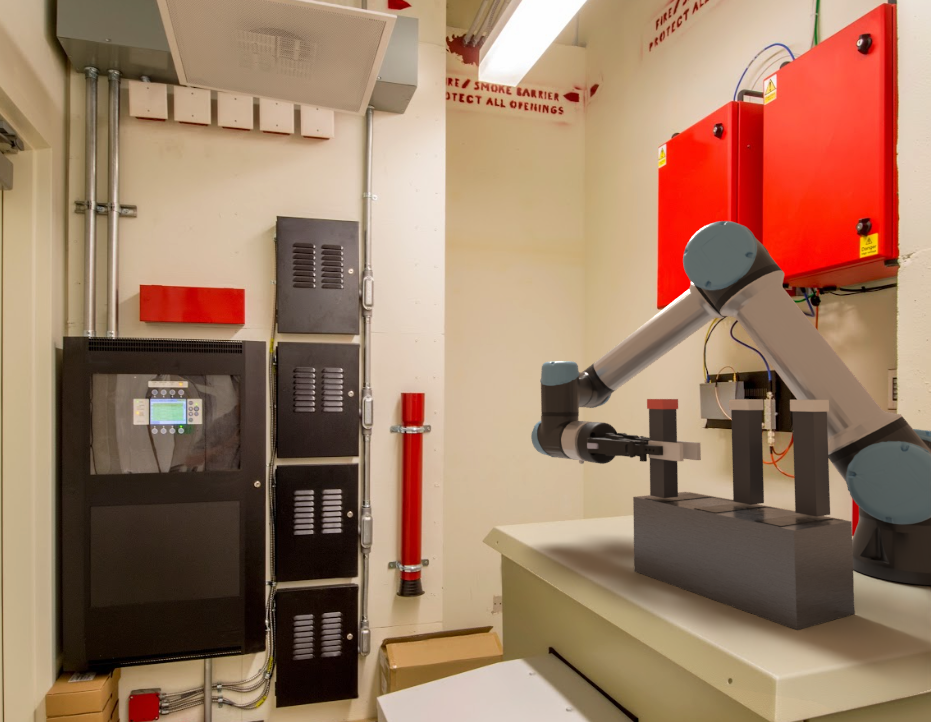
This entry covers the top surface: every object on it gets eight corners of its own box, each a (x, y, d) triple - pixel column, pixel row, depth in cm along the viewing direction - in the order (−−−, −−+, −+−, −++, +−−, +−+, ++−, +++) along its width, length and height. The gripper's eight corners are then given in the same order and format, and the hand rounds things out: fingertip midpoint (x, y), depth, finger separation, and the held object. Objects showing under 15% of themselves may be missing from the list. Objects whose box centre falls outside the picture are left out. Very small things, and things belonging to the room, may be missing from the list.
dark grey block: (634, 571, 98) (633, 496, 99) (686, 562, 104) (685, 491, 105) (796, 629, 74) (794, 529, 74) (854, 613, 79) (851, 520, 80)
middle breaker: (731, 501, 92) (729, 399, 93) (746, 499, 94) (743, 399, 95) (751, 505, 89) (748, 399, 90) (766, 503, 91) (763, 399, 92)
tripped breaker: (648, 495, 98) (646, 398, 99) (663, 493, 99) (662, 399, 100) (664, 498, 95) (662, 399, 96) (679, 496, 96) (678, 399, 97)
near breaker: (793, 512, 83) (789, 399, 84) (808, 510, 85) (805, 399, 86) (817, 517, 80) (813, 399, 81) (832, 514, 82) (828, 399, 83)
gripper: (624, 460, 117) (726, 473, 96) (556, 464, 109) (651, 479, 89) (623, 421, 117) (725, 426, 97) (556, 422, 110) (650, 428, 89)
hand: (690, 451), depth 93 cm, fingers closed on tripped breaker, 3 cm apart
